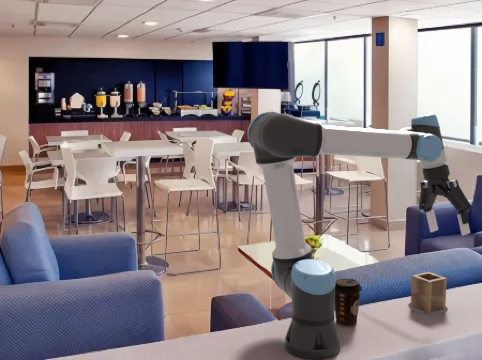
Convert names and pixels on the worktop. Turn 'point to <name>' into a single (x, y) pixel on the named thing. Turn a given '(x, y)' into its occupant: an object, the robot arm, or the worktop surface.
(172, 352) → the worktop surface
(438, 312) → the post stand
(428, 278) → the sleeve
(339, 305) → the coffee cup
